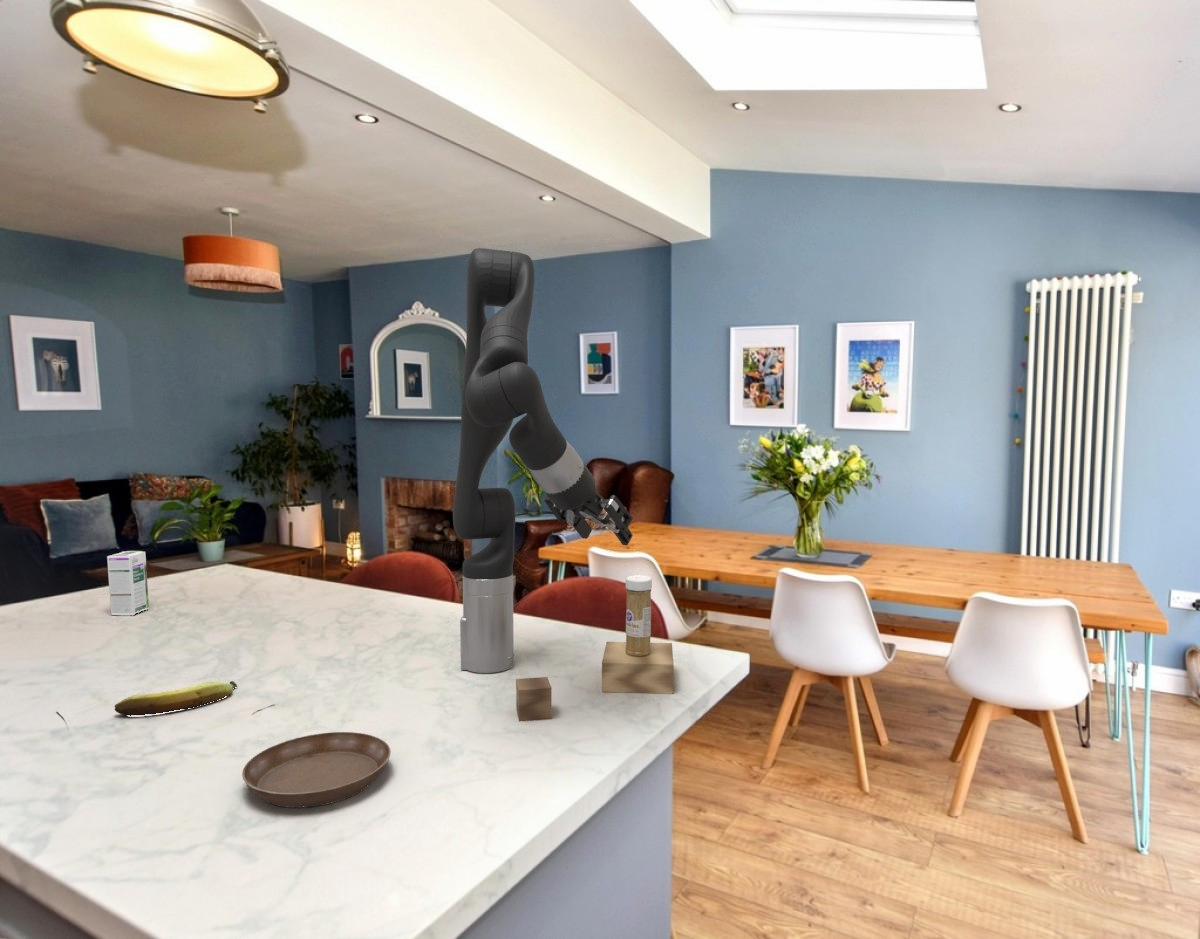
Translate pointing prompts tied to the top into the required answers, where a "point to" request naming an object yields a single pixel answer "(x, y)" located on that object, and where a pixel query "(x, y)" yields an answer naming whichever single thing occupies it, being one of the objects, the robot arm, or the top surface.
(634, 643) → the sprinkles bottle
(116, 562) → the syrup box
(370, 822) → the top surface
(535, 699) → the walnut cube
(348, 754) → the plant saucer
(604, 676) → the oak block
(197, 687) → the banana
